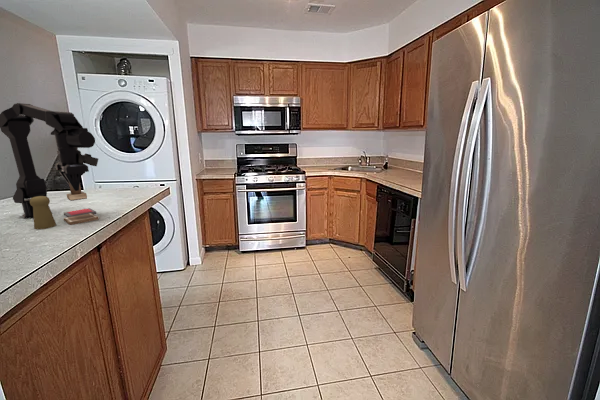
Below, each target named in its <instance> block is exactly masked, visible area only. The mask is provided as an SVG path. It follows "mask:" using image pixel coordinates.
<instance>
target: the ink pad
mask: <svg viewBox="0 0 600 400" xmlns="http://www.w3.org/2000/svg"><path fill="white" fill-rule="evenodd" d="M89 213H92V214H94V215H97V214H98V213H97V211H96V210H95V209H93V208H90V207H88V208H83V209H78V210H77V209H76V210H71V211H66V212H63V215H64V216H65V218H67V217H73V216H78V215H84V214H89Z"/></svg>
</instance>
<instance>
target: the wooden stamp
mask: <svg viewBox="0 0 600 400" xmlns="http://www.w3.org/2000/svg"><path fill="white" fill-rule="evenodd" d="M68 186H69V190H70V193H66V198H67V200H69V201H70V202H71V201H72V202H73V201H79V200H86V199H88V195H87V193H86V192H85V191H82V187H81V184H80V185H79V190H78V191H75V190H74V189H73V187H72V186H71V184H70V183H69V184H68Z"/></svg>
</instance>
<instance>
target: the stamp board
mask: <svg viewBox="0 0 600 400" xmlns="http://www.w3.org/2000/svg"><path fill="white" fill-rule="evenodd" d="M99 219H100V217H99V216H98V215H97V214H92V213H89V214H84V215H78V216H73V217H63V221H64V223H66V224H68V225H69V226H72V225H77V224H83V223H87V222H93V221H97V220H99Z"/></svg>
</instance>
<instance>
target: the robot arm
mask: <svg viewBox="0 0 600 400" xmlns="http://www.w3.org/2000/svg"><path fill="white" fill-rule="evenodd" d="M35 119H36V120H39V121H41V122H42V121H43V122H44V123H45V124H46V125H47V126H49V127H50V128H52V130H51V132H50V135H51V136H54V138H55V144H56V148H57V150H56V153H57V154H58V158H59V161H58V162H57V163H55V165H54V166H55V170H56V171H58V173H59V174H60V176H61V177H63V179H64V180H65V182H66V183H67V184H68V185H69V183H70V184H71V186H72V187H73V189H74V190H75V191H78V190H79V185H80V186H81V177H82V176H83V175H84V174H85V173H89V166H93V167H98V162H99V158H97V157H93V156H92V154H88V153H84V154H82V152H81V151H80V150H79V149H82V148H83V149H87V148H88V149H90V148H92V147H94V146H95V143H96V138H95V136H94V134H92V133H91V132H90V131H88V129H89V128H88V127H84V126H83V125H82V124H81V123H80V121H79V120H78V119H77V118H76V116H75V114H74V113H72V112H69V111H68V112H67V111H54V110H50V109H46V108H43V107H42V108H41V107H39V106H35V105H33V104H30V103H24V102H23V103H21V102H16V103H14V104H13V105H12V106H11V107H9V108H6V109H4V110H3V111H1V113H0V132H1V133H2V134H3V135H5V137H7V138H8V140H9V142H10V145H11V150H12V153H13V156H14V161H15V164H16V167H17V168H16V169H17V172H18V175H19V177H18V178H17V180H16V183H15V186H16V190H15V192H14V195H13V196H12V200H13V201H14V203H15V204H21V206H22V210H23V214H22V217H23V218H24V219H30V218H34V216H33V206H31V204H30V199H31V198H33V197H37V196H46V197H48V196H47V195H48V187H47V184H46V180H45V179H44V178H41V177H40V176H39V175H38V174H37V172H36V168H35V164H34V160H33V156H32V153H31V148H30V145H29V141H28V137H29V134H30V133H31V125H32V124H33V123H34V121H35ZM88 165H89V166H88Z"/></svg>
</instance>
